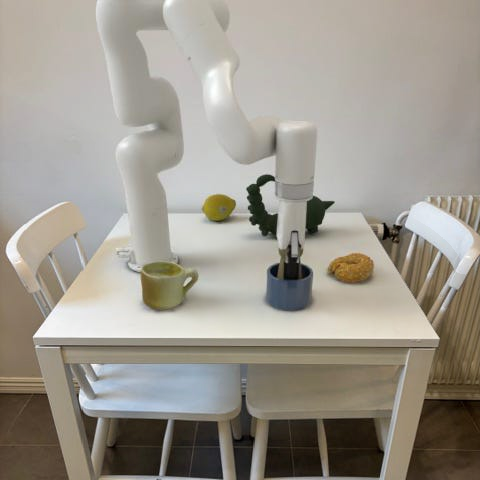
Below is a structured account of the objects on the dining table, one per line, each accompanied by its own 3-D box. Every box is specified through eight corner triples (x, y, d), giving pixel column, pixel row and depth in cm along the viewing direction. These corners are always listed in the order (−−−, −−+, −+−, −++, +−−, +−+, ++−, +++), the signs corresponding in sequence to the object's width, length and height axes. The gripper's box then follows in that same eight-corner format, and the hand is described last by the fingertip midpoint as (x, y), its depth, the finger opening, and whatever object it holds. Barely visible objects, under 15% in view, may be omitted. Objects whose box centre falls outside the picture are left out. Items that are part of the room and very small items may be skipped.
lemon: (203, 225, 147) (202, 199, 143) (201, 216, 154) (199, 191, 150) (238, 223, 149) (238, 197, 145) (234, 214, 155) (234, 190, 151)
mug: (132, 308, 100) (138, 261, 98) (140, 299, 110) (147, 256, 108) (190, 318, 101) (198, 272, 99) (193, 308, 111) (200, 266, 109)
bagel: (334, 263, 123) (336, 245, 121) (377, 271, 119) (380, 253, 116) (321, 278, 116) (322, 260, 113) (366, 288, 111) (369, 269, 109)
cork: (301, 296, 102) (304, 248, 97) (273, 293, 104) (274, 246, 98) (304, 283, 108) (307, 237, 102) (277, 281, 109) (278, 235, 103)
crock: (267, 311, 103) (268, 281, 99) (265, 289, 111) (266, 261, 108) (313, 310, 103) (316, 281, 99) (307, 289, 111) (309, 261, 108)
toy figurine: (255, 249, 135) (340, 235, 138) (249, 182, 125) (341, 168, 128) (248, 236, 143) (329, 223, 146) (242, 173, 133) (329, 160, 136)
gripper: (272, 177, 101) (269, 257, 111) (277, 203, 87) (274, 292, 96) (307, 177, 101) (302, 257, 111) (319, 202, 87) (312, 291, 96)
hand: (289, 272), depth 104 cm, fingers closed on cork, 4 cm apart
